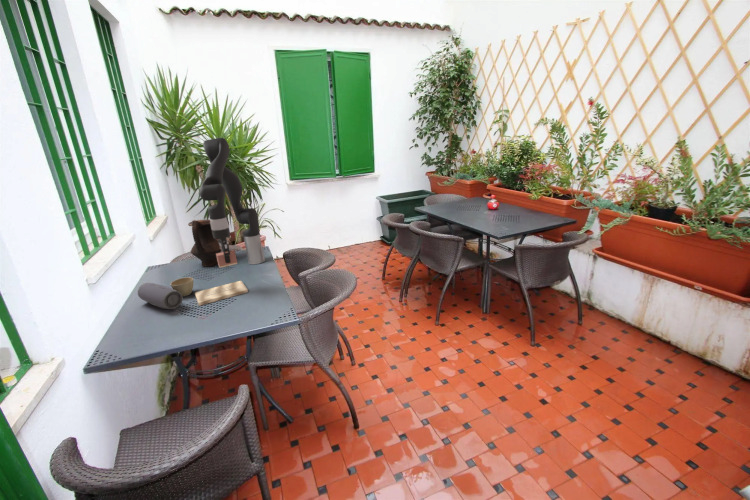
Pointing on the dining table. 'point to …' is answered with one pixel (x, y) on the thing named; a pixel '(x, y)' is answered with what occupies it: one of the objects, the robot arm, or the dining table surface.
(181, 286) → the flower pot
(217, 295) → the board
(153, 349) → the dining table surface
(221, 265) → the block
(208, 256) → the jug
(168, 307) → the bluetooth speaker
